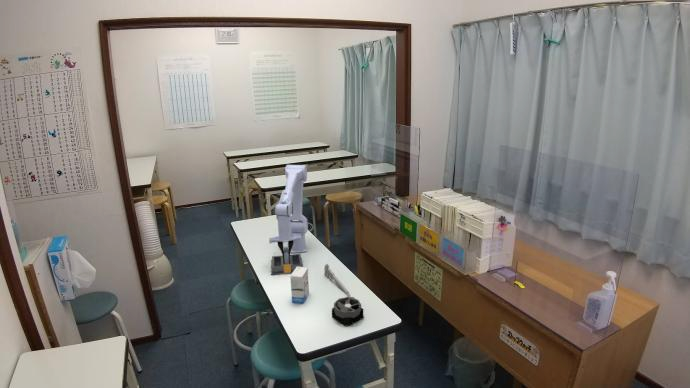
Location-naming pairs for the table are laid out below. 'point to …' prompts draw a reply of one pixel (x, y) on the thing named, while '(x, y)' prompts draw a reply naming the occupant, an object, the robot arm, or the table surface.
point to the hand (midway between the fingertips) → (286, 255)
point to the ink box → (299, 284)
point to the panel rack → (282, 268)
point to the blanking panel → (286, 255)
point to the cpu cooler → (347, 310)
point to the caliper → (335, 279)
